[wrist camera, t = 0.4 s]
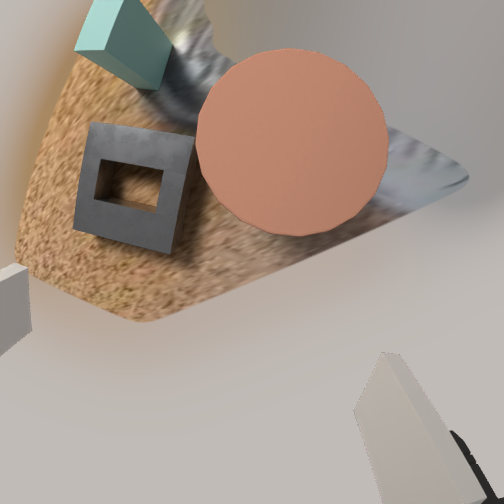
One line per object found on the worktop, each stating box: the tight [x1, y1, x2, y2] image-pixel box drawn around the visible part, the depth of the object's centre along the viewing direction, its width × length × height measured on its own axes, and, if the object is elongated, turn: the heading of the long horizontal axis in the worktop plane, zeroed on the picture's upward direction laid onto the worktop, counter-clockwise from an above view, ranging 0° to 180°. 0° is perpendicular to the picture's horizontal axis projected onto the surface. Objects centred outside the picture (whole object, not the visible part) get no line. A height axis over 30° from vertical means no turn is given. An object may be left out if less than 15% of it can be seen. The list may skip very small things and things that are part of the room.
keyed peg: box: [74, 0, 173, 91], centre depth 24 cm, size 6×3×14 cm, turn 166°
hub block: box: [73, 122, 198, 254], centre depth 33 cm, size 12×12×4 cm
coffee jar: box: [195, 48, 389, 237], centre depth 25 cm, size 11×11×18 cm
